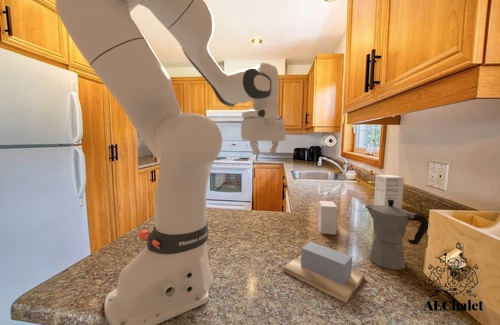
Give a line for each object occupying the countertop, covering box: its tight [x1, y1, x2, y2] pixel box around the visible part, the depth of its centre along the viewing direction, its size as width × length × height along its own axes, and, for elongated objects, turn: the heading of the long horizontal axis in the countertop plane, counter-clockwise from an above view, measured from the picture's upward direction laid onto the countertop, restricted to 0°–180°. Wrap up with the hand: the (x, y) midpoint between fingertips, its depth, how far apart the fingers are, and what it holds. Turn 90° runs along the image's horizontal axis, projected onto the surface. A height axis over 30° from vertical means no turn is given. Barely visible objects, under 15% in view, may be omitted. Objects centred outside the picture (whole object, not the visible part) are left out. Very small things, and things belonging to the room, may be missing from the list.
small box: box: [317, 200, 338, 236], centre depth 84 cm, size 8×6×10 cm
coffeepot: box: [365, 200, 430, 271], centre depth 61 cm, size 15×9×18 cm, turn 39°
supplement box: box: [373, 174, 405, 209], centre depth 115 cm, size 10×9×17 cm
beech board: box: [282, 254, 365, 303], centre depth 56 cm, size 12×16×1 cm
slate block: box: [300, 241, 353, 285], centre depth 55 cm, size 5×5×11 cm
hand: (264, 154), depth 78 cm, fingers open, 8 cm apart
